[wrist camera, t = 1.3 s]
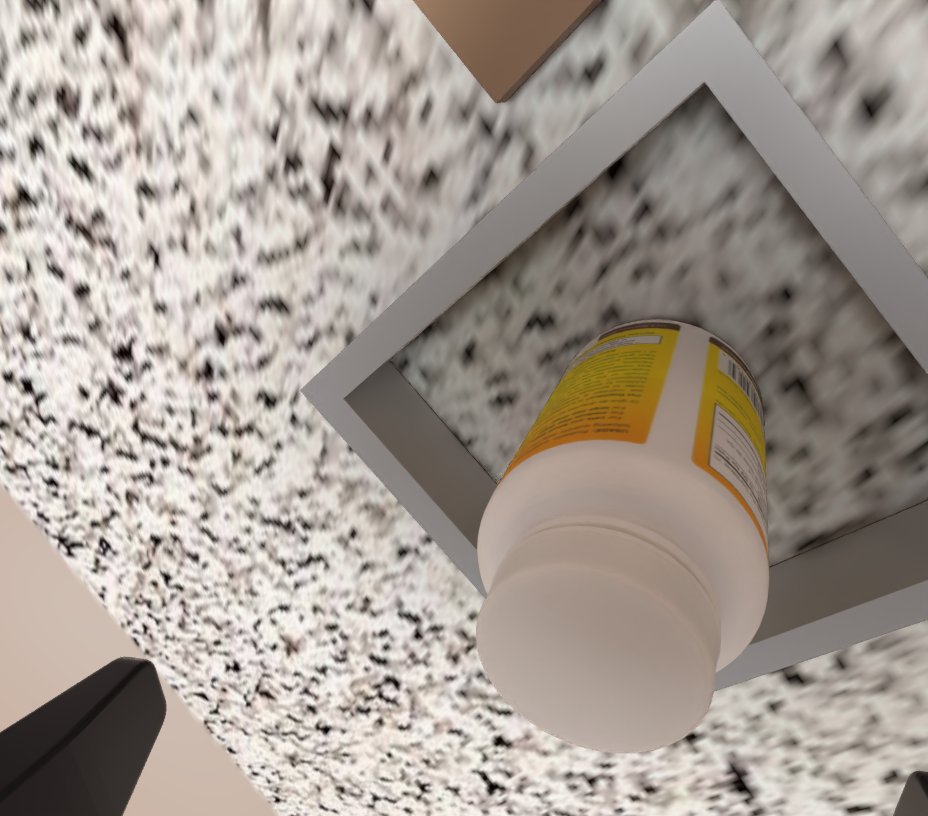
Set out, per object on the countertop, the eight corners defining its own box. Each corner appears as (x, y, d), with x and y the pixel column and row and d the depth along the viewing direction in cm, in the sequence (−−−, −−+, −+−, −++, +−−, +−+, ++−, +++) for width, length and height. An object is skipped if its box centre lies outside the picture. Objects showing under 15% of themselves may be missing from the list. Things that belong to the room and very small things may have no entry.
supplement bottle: (534, 435, 22) (391, 678, 13) (613, 277, 19) (494, 460, 10) (700, 521, 21) (661, 838, 13) (808, 371, 18) (853, 651, 10)
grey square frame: (1077, 477, 17) (1131, 550, 15) (617, 660, 25) (601, 729, 22) (723, 6, 16) (717, -3, 13) (350, 353, 23) (299, 390, 21)
